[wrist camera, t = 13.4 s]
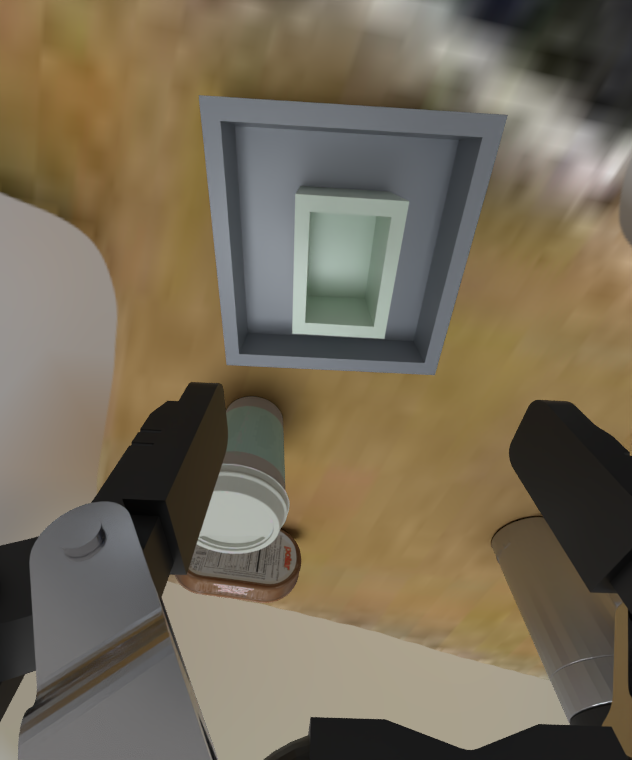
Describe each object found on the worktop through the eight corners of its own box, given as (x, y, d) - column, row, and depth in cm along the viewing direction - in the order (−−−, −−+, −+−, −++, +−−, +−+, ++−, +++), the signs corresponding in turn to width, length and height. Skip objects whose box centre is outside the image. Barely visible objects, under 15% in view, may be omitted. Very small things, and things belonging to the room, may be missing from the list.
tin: (186, 524, 45) (161, 593, 38) (187, 509, 43) (160, 578, 36) (299, 540, 47) (296, 609, 39) (304, 527, 45) (301, 596, 38)
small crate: (389, 191, 23) (409, 201, 18) (372, 305, 28) (384, 338, 22) (300, 185, 23) (295, 194, 18) (297, 301, 27) (292, 333, 22)
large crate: (475, 122, 22) (507, 115, 18) (420, 347, 30) (434, 375, 27) (220, 106, 21) (198, 95, 18) (238, 338, 30) (226, 364, 26)
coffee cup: (199, 428, 36) (151, 535, 26) (234, 369, 32) (194, 468, 22) (271, 460, 38) (254, 569, 28) (312, 409, 34) (309, 514, 24)
